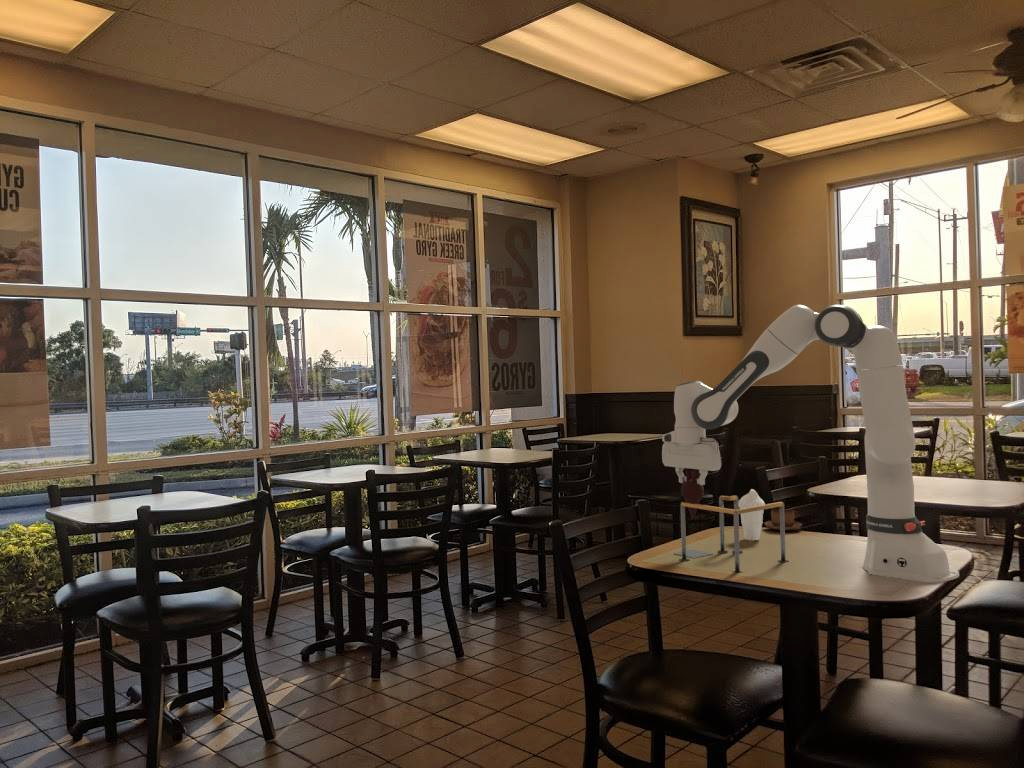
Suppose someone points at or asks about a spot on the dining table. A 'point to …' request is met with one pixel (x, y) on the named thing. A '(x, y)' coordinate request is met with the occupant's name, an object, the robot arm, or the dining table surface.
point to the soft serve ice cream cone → (751, 515)
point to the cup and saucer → (789, 520)
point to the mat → (694, 553)
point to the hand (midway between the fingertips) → (691, 483)
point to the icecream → (692, 490)
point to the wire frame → (736, 525)
